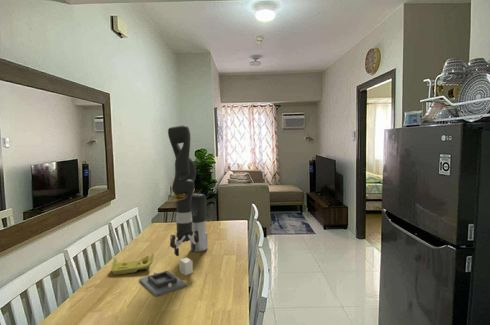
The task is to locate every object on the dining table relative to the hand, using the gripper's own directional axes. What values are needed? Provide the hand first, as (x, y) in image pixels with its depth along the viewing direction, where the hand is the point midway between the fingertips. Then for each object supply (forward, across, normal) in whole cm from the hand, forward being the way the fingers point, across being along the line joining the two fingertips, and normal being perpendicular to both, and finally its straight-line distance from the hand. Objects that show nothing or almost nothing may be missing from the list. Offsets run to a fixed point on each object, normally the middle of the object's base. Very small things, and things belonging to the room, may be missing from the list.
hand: (185, 253), depth 146 cm
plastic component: (+10, +18, -20) cm, 29 cm away
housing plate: (+9, +14, +4) cm, 17 cm away
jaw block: (+9, 0, 0) cm, 9 cm away
